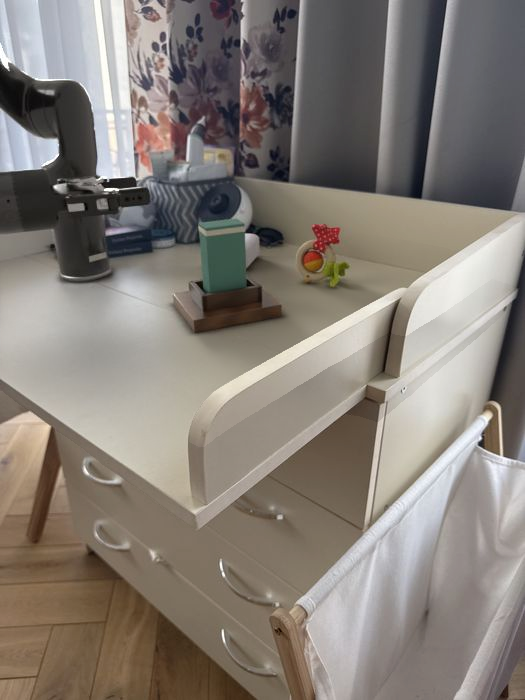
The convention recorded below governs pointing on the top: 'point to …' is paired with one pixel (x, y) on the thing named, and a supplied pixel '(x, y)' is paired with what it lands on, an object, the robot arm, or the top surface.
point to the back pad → (223, 255)
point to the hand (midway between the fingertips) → (142, 189)
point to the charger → (251, 248)
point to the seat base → (225, 306)
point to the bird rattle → (320, 256)
